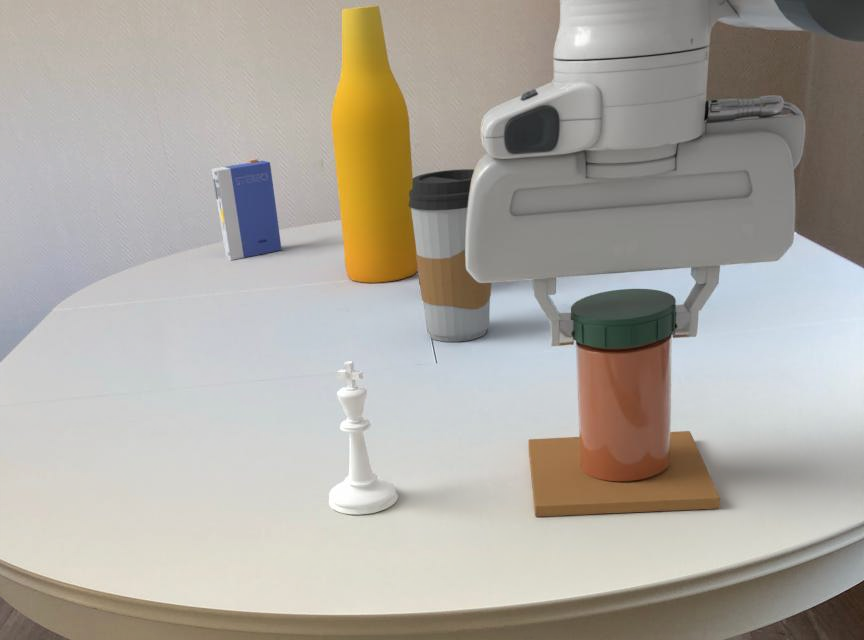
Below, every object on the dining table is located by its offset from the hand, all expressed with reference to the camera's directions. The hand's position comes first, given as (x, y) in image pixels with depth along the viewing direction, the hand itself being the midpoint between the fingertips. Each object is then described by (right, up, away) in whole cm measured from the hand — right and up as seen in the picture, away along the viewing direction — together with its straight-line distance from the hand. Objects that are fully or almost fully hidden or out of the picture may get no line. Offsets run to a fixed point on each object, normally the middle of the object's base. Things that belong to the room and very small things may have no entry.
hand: (621, 339), depth 70 cm
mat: (+1, -8, +5) cm, 10 cm away
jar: (+1, -7, +5) cm, 9 cm away
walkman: (-34, +35, +81) cm, 94 cm away
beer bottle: (-16, +26, +63) cm, 70 cm away
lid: (0, +2, -1) cm, 2 cm away
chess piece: (-17, -10, +6) cm, 21 cm away
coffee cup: (-8, +11, +39) cm, 41 cm away
